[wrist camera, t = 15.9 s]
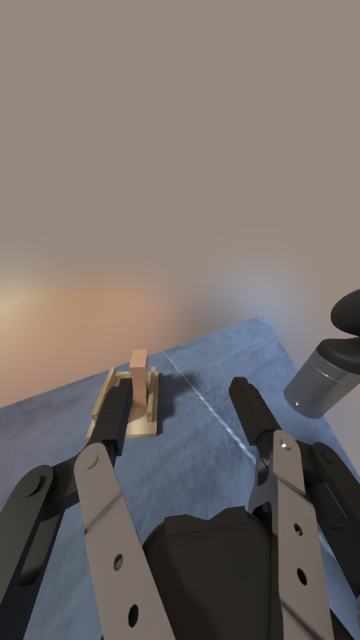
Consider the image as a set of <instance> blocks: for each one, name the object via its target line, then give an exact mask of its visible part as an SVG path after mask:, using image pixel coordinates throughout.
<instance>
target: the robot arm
mask: <svg viewBox="0 0 360 640" xmlns="http://www.w3.org/2000/svg"><path fill="white" fill-rule="evenodd" d="M331 321H332V323H333V325H334V326H335V327H336V328H338V329H339V330H341V331H344V332H346V333H349V334H352V335H356V336H359V337H356V338H350V339H325V340H323V341H322V342H321V343H320V344H319V345H318V346H317V348H316V349H315V350H314V352H313V353H312V354H311V356H310V357H309V358H308V360H307V361H306V362H305V364H304V365H303V366H302V367H301V369H300V370H299V371H298V373H297V374H296V375H295V377H294V378H293V379H292V380H291V382H290V383H289V384H288V386H287V387H286V388H285V390H284V396H285V398H286V400H287V401H288V403H289V404H290V405H291V406H292V407H293V408H294V409H295V410H297V411H298V412H299V413H301V414H303V415H305V416H307V417H310V418H314V419H316V418H320V417H321V416H322V415H323V414H324V413H326V412H327V411H328V410H329V409H330V408H331V407H333V406H334V405H335V404H336V403H337V402H338V401H340V400H341V399H342V398H343V397H344V396H345V395H346V394H348V393H349V392H350V391H351V390H352V389H353V388H354V387H355V386H357V385H358V384H359V383H360V289H359V290H356V291H354V292H352V293H350V294H348V295H346V296H345V297H343V298H342V299H341V300H339V301H338V302H337V303H336V305H335V306H334V307H333V309H332V312H331ZM229 395H230V398H231V400H232V403H233V405H234V408H235V410H236V413H237V415H238V417H239V420H240V422H241V425H242V427H243V430H244V432H245V435H246V437H247V439H248V442H249V444H250V446H255V445H256V446H257V449H258V451H257V457H256V468H255V478H254V486H253V490H252V492H251V495H250V499H249V506H248V512H247V511H246V510H245V507H244V506H239V507H232V508H226V509H224V510H223V511H221V512H220V513H219V514H217V515H216V516H214V517H213V518H211V519H210V520H203V519H200V518H196V517H193V516H190V515H186V514H184V515H178V516H171V517H165V519H164V522H162V523H161V524H159V525H158V526H157V527H156V528H155V529H154V530H153V531H152V532H151V533H150V535H149V536H148V537H147V539H146V540H145V542H144V544H143V546H142V544H141V541H140V539H139V536H138V533H137V530H136V528H135V525H134V522H133V520H132V517H131V514H130V512H129V509H128V506H127V504H126V501H125V498H124V495H123V493H122V490H121V487H120V485H119V482H118V479H117V476H116V474H115V471H114V465H115V461H116V456H121V455H122V450H123V444H124V439H125V434H126V429H127V424H128V419H129V414H130V409H131V404H132V399H133V383H132V378H121V379H120V382H119V385H118V386H112V387H111V389H110V390H109V391H108V392H107V394H106V396H105V399H104V402H103V404H102V407H101V411H100V413H99V415H98V418H97V421H96V423H95V426H94V429H93V431H92V434H91V437H90V439H89V441H88V443H87V445H86V446H85V447H84V449H83V450H82V451H81V452H80V453H78V454H77V455H76V456H74V457H72V458H70V459H68V460H66V461H64V462H62V463H59V464H57V465H55V466H53V467H50V466H49V465H41V466H38V467H36V468H34V469H32V470H31V471H30V472H28V473H27V474H26V475H25V476H24V477H23V478H22V479H21V480H20V481H19V482H18V484H17V485H16V487H15V488H14V490H13V492H12V493H11V495H10V497H9V499H8V501H7V502H6V504H5V506H4V508H3V510H2V511H1V513H0V640H23V638H24V635H25V632H26V629H27V626H28V623H29V620H30V617H31V613H32V610H33V607H34V604H35V601H36V598H37V595H38V592H39V589H40V586H41V583H42V580H43V576H44V573H45V570H46V567H47V564H48V561H49V558H50V555H51V552H52V549H53V546H54V543H55V540H56V536H57V533H58V530H59V527H60V524H61V521H62V518H63V515H64V512H65V510H66V509H68V508H69V507H71V506H73V505H75V504H76V503H78V502H80V504H81V509H82V514H83V519H84V524H85V544H86V550H87V555H88V561H89V566H90V571H91V576H92V581H93V586H94V591H95V596H96V602H97V607H98V612H99V617H100V622H101V627H102V632H103V635H102V638H101V640H354V638H353V637H352V636H351V634H350V633H349V632H348V631H347V629H346V628H345V627H344V625H343V624H342V623H341V622H340V620H339V619H338V618H337V616H336V615H335V614H334V613H333V611H332V610H331V609H330V607H329V601H328V595H327V588H326V581H325V574H324V568H323V561H322V554H321V547H320V540H319V534H318V527H317V522H318V524H319V526H320V528H321V530H322V531H323V533H324V535H325V537H326V539H327V541H328V543H329V545H330V547H331V549H332V551H333V553H334V555H335V557H336V559H337V561H338V563H339V565H340V567H341V569H342V571H343V573H344V575H345V577H346V579H347V581H348V583H349V585H350V587H351V589H352V591H353V593H354V595H355V597H356V599H357V608H358V613H357V621H358V624H359V627H360V484H359V483H358V481H357V480H356V479H355V477H354V476H353V475H352V473H351V472H350V471H349V469H348V468H347V467H346V465H345V464H344V463H343V461H342V460H341V459H340V457H339V456H338V455H337V454H336V453H335V452H334V451H333V450H332V449H331V448H330V447H328V446H327V445H325V444H323V443H321V442H315V443H314V444H313V445H309V444H306V443H303V442H300V441H297V440H295V439H294V438H293V437H292V436H291V435H290V434H288V433H287V432H285V431H283V430H282V429H281V427H280V426H279V424H278V423H277V421H276V419H275V418H274V416H273V414H272V413H271V411H270V410H269V408H268V406H267V405H266V404H265V401H264V400H263V398H262V396H261V395H260V393H259V391H258V390H257V389H256V388H255V387H254V386H253V385H252V384H249V383H248V381H247V379H246V378H245V377H234V378H233V380H232V383H231V385H230V387H229ZM325 482H326V484H327V485H328V487H329V489H330V490H331V492H332V494H333V495H334V497H335V498H336V500H337V502H338V503H339V505H340V506H341V508H342V510H343V511H344V513H345V515H346V517H347V519H348V520H347V519H346V517H345V516H344V514H343V512H342V511H341V509H340V508H339V506H338V504H337V503H336V501H335V499H334V498H333V496H332V495H331V493H330V491H329V490H328V488H327V486H326V485H325Z"/></svg>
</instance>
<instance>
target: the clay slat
mask: <svg viewBox="0 0 360 640" xmlns="http://www.w3.org/2000/svg"><path fill="white" fill-rule="evenodd" d="M129 370H130V378H132V383H133V406H134V408H137V407H146V406H147V394H148V358H147V350H133V354H132V358H131V362H130V366H129Z"/></svg>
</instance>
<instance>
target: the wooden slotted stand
mask: <svg viewBox="0 0 360 640" xmlns="http://www.w3.org/2000/svg"><path fill="white" fill-rule="evenodd" d="M121 378H130V372H116V371H115V367H111V368H110V370H109V373H108V375H107V378H106V380H105V382H104V385H103V387H102V390H101V392H100V395H99V397H98V399H97V402H96V404H95V407H94V409H93V412H92V414H91V416H92V418H93V420H92V423H91V425H90V428H89V430H88V433H87V435H86V440H87V441H89V439H90V437H91V434H92V431H93V429H94V426H95V423H96V421H97V418H98V415H99V413H100V411H101V407H102V404H103V402H104V399H105V396H106V394H107V392H108V391H109V390H110V389H111V387H112V386H118V385H119V382H120V379H121ZM158 381H159V372H155V367H151V372H148V394H147V406H146V407H137V408H134V406H133V399H132V404H131V409H130V414H129V419H128V424H127V429H126V434H125V438H139V437H153V436H156V430H157V405H158Z"/></svg>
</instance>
